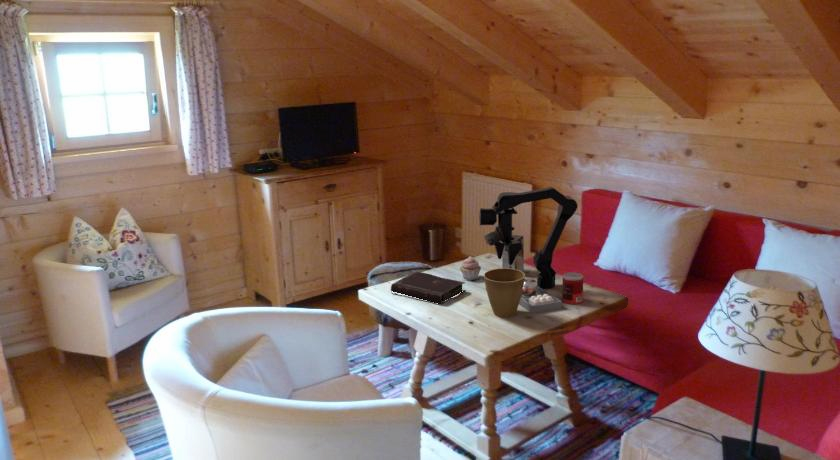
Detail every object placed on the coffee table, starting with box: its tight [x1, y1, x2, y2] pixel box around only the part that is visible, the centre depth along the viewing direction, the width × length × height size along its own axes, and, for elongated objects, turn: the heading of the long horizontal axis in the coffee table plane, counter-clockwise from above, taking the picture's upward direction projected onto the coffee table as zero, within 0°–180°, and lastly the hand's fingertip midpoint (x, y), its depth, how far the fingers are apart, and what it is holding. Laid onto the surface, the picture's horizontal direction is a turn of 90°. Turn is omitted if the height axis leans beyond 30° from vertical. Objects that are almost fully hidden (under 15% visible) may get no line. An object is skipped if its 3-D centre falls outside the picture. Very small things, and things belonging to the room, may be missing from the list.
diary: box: [390, 271, 466, 305], centre depth 271 cm, size 19×25×5 cm
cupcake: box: [459, 255, 482, 281], centre depth 285 cm, size 9×9×10 cm
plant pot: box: [483, 267, 526, 318], centre depth 243 cm, size 15×15×16 cm
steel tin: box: [521, 278, 537, 299], centre depth 258 cm, size 6×6×7 cm
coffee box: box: [501, 234, 525, 272], centre depth 290 cm, size 9×6×16 cm
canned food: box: [561, 272, 584, 305], centre depth 253 cm, size 8×8×11 cm
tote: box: [518, 284, 563, 314], centre depth 255 cm, size 13×21×4 cm, turn 19°
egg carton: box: [529, 294, 554, 305], centre depth 249 cm, size 8×5×4 cm, turn 109°
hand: (505, 261), depth 268 cm, fingers open, 9 cm apart
